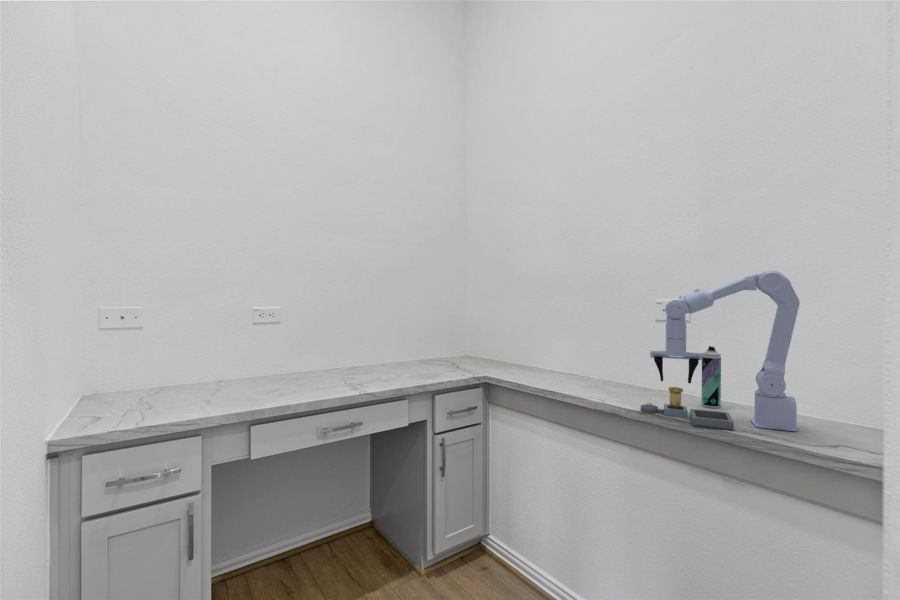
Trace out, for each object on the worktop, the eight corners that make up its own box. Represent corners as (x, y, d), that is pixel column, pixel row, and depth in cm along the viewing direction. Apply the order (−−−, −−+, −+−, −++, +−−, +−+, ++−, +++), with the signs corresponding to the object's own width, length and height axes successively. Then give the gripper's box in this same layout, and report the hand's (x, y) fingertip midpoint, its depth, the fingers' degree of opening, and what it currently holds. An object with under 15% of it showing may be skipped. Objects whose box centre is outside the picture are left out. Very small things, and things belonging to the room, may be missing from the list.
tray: (728, 420, 132) (728, 412, 132) (733, 430, 123) (733, 421, 123) (690, 416, 136) (690, 408, 136) (692, 426, 127) (692, 417, 127)
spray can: (703, 403, 152) (703, 345, 152) (721, 406, 149) (722, 346, 148) (700, 406, 148) (700, 346, 147) (719, 409, 144) (719, 348, 144)
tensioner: (686, 412, 141) (686, 404, 141) (687, 417, 136) (687, 409, 136) (641, 407, 147) (641, 400, 147) (640, 412, 141) (640, 404, 141)
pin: (682, 412, 141) (682, 387, 141) (682, 416, 137) (683, 390, 137) (668, 411, 143) (668, 386, 142) (668, 414, 139) (668, 389, 139)
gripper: (701, 338, 140) (700, 381, 140) (650, 336, 146) (650, 377, 146) (703, 340, 133) (702, 385, 134) (650, 338, 140) (650, 381, 140)
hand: (675, 381), depth 140 cm, fingers open, 7 cm apart
